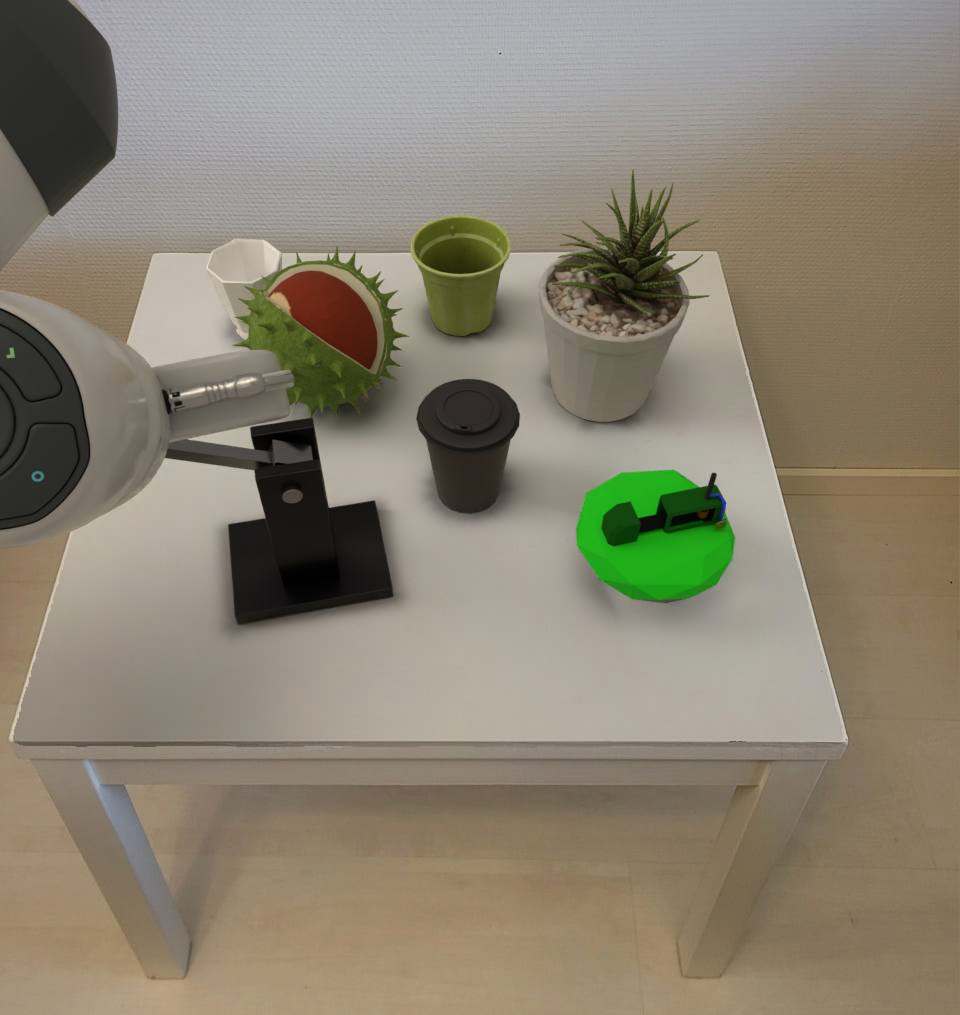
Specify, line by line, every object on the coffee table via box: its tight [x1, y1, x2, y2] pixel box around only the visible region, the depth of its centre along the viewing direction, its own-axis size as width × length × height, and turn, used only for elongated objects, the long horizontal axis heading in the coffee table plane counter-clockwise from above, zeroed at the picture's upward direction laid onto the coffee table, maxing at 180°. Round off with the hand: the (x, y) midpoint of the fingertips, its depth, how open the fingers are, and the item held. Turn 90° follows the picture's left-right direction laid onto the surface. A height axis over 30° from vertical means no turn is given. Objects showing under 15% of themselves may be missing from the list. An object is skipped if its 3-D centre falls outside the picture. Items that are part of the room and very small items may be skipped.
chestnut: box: [232, 245, 410, 421], centre depth 84 cm, size 15×14×15 cm
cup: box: [205, 237, 283, 341], centre depth 92 cm, size 7×10×8 cm
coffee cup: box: [416, 378, 521, 515], centre depth 78 cm, size 8×8×10 cm
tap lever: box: [164, 439, 313, 471], centre depth 65 cm, size 14×3×3 cm, turn 102°
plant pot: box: [409, 214, 512, 337], centre depth 92 cm, size 9×9×9 cm
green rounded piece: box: [575, 469, 736, 604], centre depth 73 cm, size 12×12×11 cm
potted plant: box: [538, 169, 711, 423], centre depth 82 cm, size 13×14×20 cm
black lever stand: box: [227, 417, 394, 625], centre depth 71 cm, size 12×9×14 cm
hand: (112, 422), depth 56 cm, fingers closed
